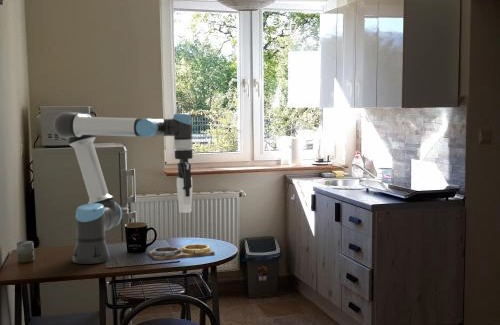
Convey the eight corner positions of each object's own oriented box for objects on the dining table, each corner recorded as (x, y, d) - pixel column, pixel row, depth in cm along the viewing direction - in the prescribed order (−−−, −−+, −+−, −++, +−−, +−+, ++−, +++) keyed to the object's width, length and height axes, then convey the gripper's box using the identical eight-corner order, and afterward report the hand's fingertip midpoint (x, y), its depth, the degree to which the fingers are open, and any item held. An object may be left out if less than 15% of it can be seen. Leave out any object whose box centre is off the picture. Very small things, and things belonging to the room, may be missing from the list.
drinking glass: (194, 211, 254) (193, 176, 253) (191, 213, 247) (190, 178, 246) (179, 211, 255) (178, 176, 254) (175, 213, 248) (174, 178, 247)
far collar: (186, 254, 248) (186, 250, 248) (179, 248, 259) (179, 245, 259) (212, 251, 252) (212, 248, 252) (204, 246, 263) (204, 243, 263)
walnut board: (155, 260, 243) (155, 257, 243) (148, 254, 255) (148, 251, 255) (214, 254, 252) (214, 252, 252) (205, 248, 264) (205, 246, 264)
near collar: (156, 256, 243) (156, 253, 243) (150, 251, 254) (150, 248, 254) (182, 254, 248) (182, 251, 248) (176, 249, 258) (176, 245, 258)
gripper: (197, 149, 241) (199, 205, 243) (186, 148, 260) (188, 200, 261) (180, 150, 239) (182, 206, 240) (169, 149, 257) (171, 201, 259)
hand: (185, 203), depth 251 cm, fingers closed on drinking glass, 7 cm apart
